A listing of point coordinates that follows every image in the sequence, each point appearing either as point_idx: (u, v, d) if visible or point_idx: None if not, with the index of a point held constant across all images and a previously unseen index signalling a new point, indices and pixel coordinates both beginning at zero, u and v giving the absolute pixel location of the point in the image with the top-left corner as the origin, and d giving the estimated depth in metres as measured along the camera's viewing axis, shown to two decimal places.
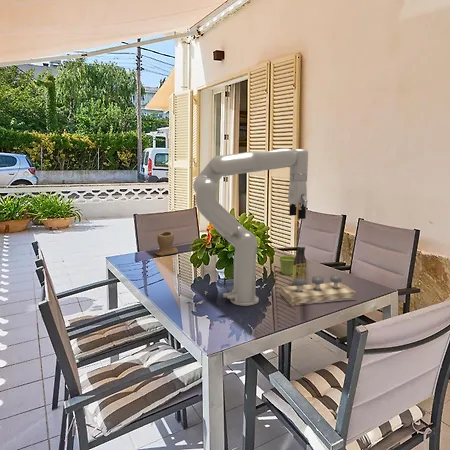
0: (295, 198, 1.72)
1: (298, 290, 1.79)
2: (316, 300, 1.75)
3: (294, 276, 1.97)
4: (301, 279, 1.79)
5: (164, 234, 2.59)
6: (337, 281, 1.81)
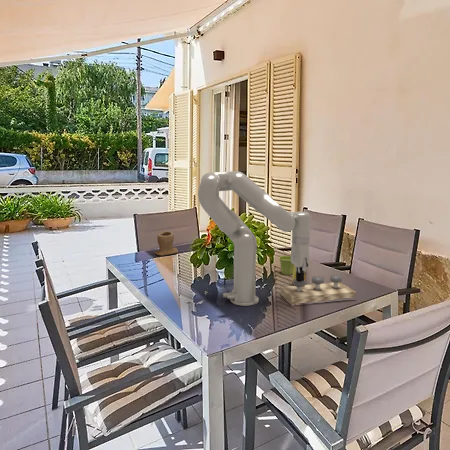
0: (298, 261, 1.73)
1: (298, 291, 1.79)
2: (316, 300, 1.75)
3: (294, 276, 1.97)
4: None
5: (164, 234, 2.59)
6: (337, 281, 1.81)
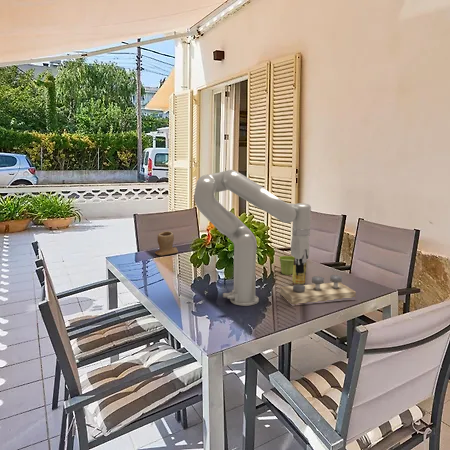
0: (298, 253, 1.73)
1: None
2: (316, 300, 1.75)
3: (294, 276, 1.97)
4: (301, 286, 1.80)
5: (164, 234, 2.59)
6: (337, 281, 1.81)
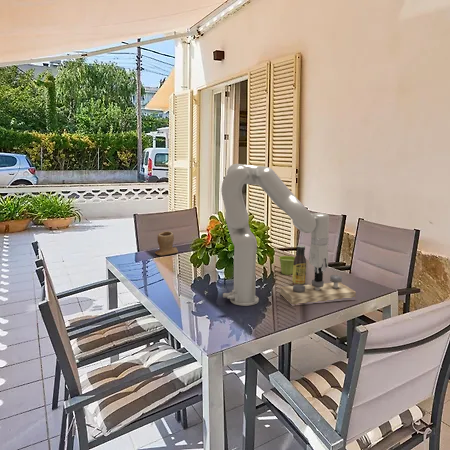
0: (317, 262, 1.76)
1: None
2: (316, 300, 1.75)
3: (294, 276, 1.97)
4: (301, 286, 1.80)
5: (164, 234, 2.59)
6: (337, 281, 1.81)
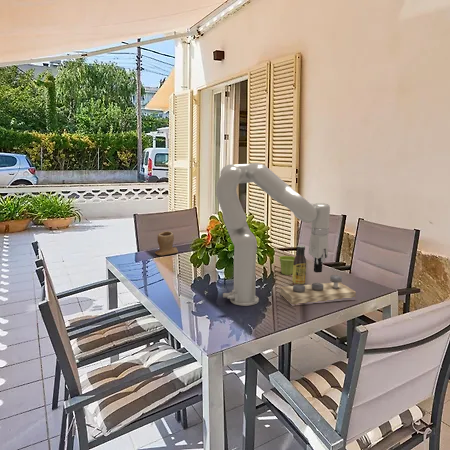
0: (317, 252, 1.75)
1: None
2: (316, 300, 1.75)
3: (294, 276, 1.97)
4: (301, 286, 1.80)
5: (164, 234, 2.59)
6: (337, 281, 1.81)
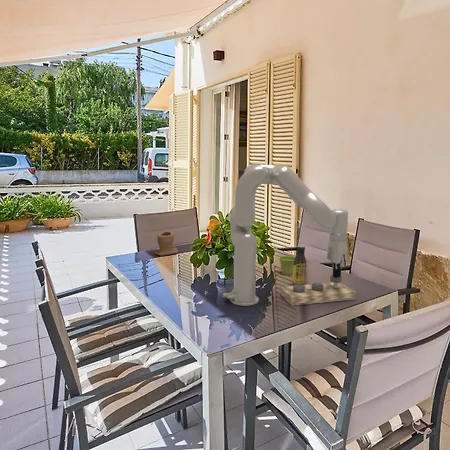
0: (336, 257, 1.77)
1: None
2: (316, 300, 1.75)
3: (294, 276, 1.97)
4: (301, 286, 1.80)
5: (164, 234, 2.59)
6: (337, 281, 1.81)
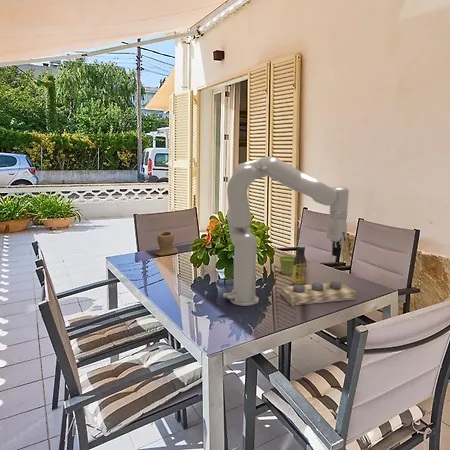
0: (335, 235, 1.75)
1: None
2: (316, 300, 1.75)
3: (294, 276, 1.97)
4: (301, 286, 1.80)
5: (164, 234, 2.59)
6: (337, 288, 1.82)
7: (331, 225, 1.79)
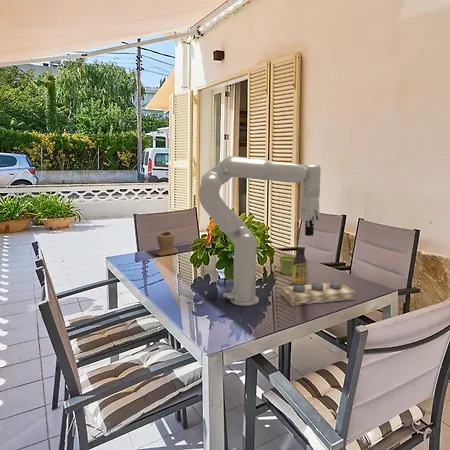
0: (307, 214, 1.71)
1: None
2: (316, 300, 1.75)
3: (294, 276, 1.97)
4: (301, 286, 1.80)
5: (164, 234, 2.59)
6: (337, 288, 1.82)
7: (303, 204, 1.74)
